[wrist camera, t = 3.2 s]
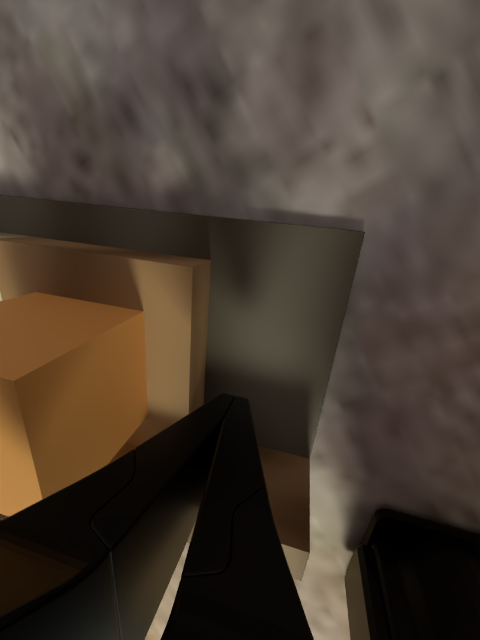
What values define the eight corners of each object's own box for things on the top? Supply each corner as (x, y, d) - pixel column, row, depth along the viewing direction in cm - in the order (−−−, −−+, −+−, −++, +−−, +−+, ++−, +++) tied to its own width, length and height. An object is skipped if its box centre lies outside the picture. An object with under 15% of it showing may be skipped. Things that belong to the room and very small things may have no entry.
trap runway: (363, 231, 9) (401, 238, 5) (303, 477, 13) (301, 580, 9) (-154, 179, 13) (-331, 163, 10) (-80, 373, 17) (-185, 413, 14)
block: (143, 311, 9) (13, 380, 5) (147, 415, 11) (50, 532, 7) (36, 292, 10) (-149, 339, 6) (54, 391, 12) (-83, 482, 8)
